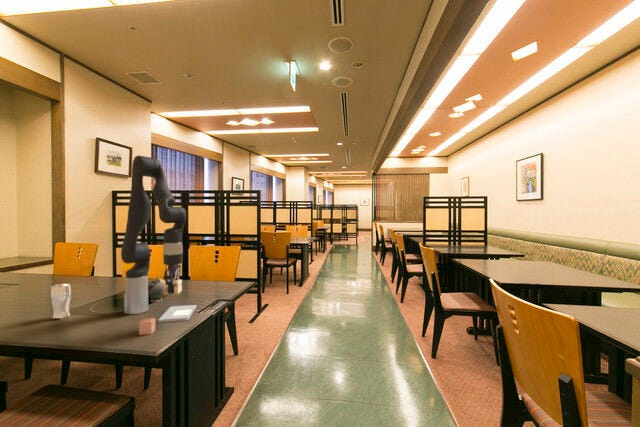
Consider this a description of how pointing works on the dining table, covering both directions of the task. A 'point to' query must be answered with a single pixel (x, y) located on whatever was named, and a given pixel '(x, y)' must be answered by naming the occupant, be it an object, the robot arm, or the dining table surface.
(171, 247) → the robot arm
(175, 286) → the beech block
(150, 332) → the terracotta block
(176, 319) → the build board
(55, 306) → the beer glass
